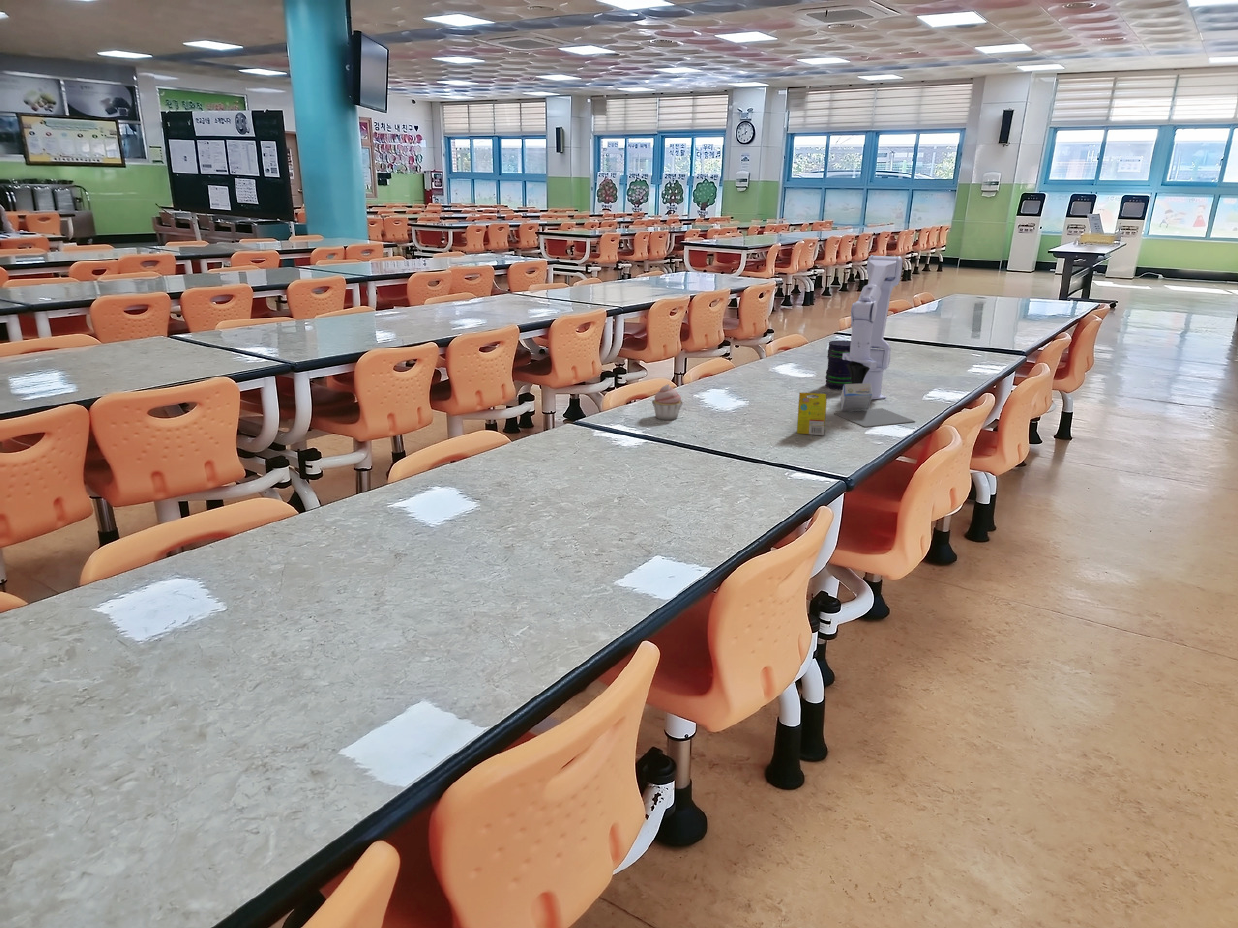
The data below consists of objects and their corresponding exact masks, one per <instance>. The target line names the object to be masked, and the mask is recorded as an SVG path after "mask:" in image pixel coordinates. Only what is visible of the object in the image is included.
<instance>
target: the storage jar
mask: <svg viewBox="0 0 1238 928" xmlns="http://www.w3.org/2000/svg"><path fill="white" fill-rule="evenodd" d="M850 346H851V340H841V339H840V340H838V339H837V340H831V341H828V349H827V356H826V357H827V368H826V370H825V371H826V372H825V385H824V386H825V388H827V389H830V390H835V391H836V390H837V391H842V390H843V386H844V384H852V381H851V376H850V372H849V370H848V368H847V364H851V361H848V360H843V359H842V357H843V353H850Z"/></svg>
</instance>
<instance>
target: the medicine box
mask: <svg viewBox="0 0 1238 928" xmlns="http://www.w3.org/2000/svg"><path fill="white" fill-rule="evenodd" d="M871 398H872V388H871V383H860V384H844V386H843V390H841V395H840V409H841V411H858V410H868V409H869V407H870V404H871V401H872V399H871Z"/></svg>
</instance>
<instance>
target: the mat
mask: <svg viewBox="0 0 1238 928" xmlns="http://www.w3.org/2000/svg"><path fill="white" fill-rule="evenodd" d="M833 415H835V416H838V417H840V418H843V419H845V420H847V421H848V422H851V423H853V424H856V425H857V426H860V427H863V428H871V427H874V428H875V427H883V426H891V425H893V426H894V425H902V424H908V423H909V424H911V423H916V420H913V419H910V418H908V417H905V416H903V415H901V414H898V413H895V412H893V411H891V410H888V409H885V408H882V407H881V408H880V407H879V408H871V409H869V408H868V410H867V409H866V410H847V411H841V412H839V411H837V412H833Z"/></svg>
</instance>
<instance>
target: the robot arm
mask: <svg viewBox="0 0 1238 928" xmlns="http://www.w3.org/2000/svg"><path fill="white" fill-rule="evenodd" d="M902 271H903V258H902V257H901V256H899V255H898V256H890V255H889V256H888V255H883V256H882V255H873V254H871V255H870V256H869V257H868V259H867V264H866V274H867V278H868V281H867V282H868V283H867V284H866V285H864V286H863V287H862V290H861V292H860V293H859V296H858V299H857V301H855V302H853V303H852V305H851V310H850V320H851V321H850V327H851V337H850V341H851V346H850V353H843V357H842V359H843V360H848V361H851V364H847V368H848V370H849V372H850V376H851V381H852V384H860V383H871V388H872V398H871V400H879V399H887V396H886V395H883V394H882V388H883V377H884V371H885V370H887V369H888V368H889V366H890V363H891V352H892V348H891V345H890V344H889V343H888V342H887V341H886V340H885V339H884V337H885V329H886V325H887V324H886V323H887V319H888V312H889V308H890V307H889V306H890V300H891V296H892V291H893V289H894V287H896V286H898V285H899V284H900V282H901V277H902Z"/></svg>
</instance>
